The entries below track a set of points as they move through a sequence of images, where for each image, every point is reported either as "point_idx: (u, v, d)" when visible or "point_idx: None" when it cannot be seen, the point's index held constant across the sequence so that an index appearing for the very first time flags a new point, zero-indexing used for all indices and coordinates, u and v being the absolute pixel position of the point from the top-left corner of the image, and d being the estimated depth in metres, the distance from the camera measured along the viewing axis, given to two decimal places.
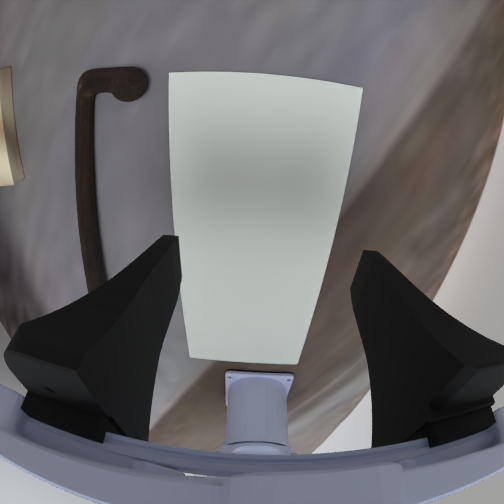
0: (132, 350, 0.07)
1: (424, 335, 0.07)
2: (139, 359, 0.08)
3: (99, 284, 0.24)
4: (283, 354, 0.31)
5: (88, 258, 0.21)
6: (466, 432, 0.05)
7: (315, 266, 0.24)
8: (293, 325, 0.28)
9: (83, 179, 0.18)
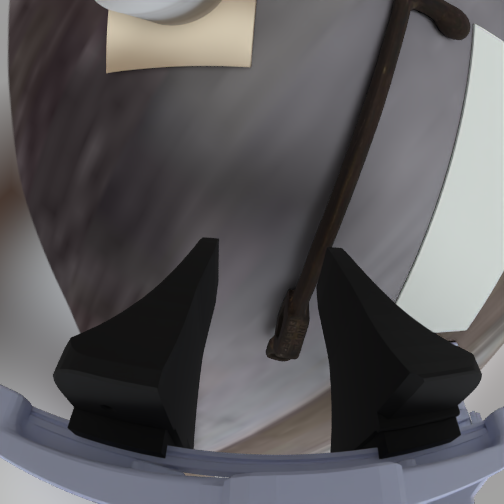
0: (188, 358, 0.07)
1: (374, 336, 0.07)
2: (192, 366, 0.08)
3: None
4: (463, 319, 0.26)
5: (351, 194, 0.16)
6: (422, 444, 0.05)
7: None
8: (486, 285, 0.23)
9: None
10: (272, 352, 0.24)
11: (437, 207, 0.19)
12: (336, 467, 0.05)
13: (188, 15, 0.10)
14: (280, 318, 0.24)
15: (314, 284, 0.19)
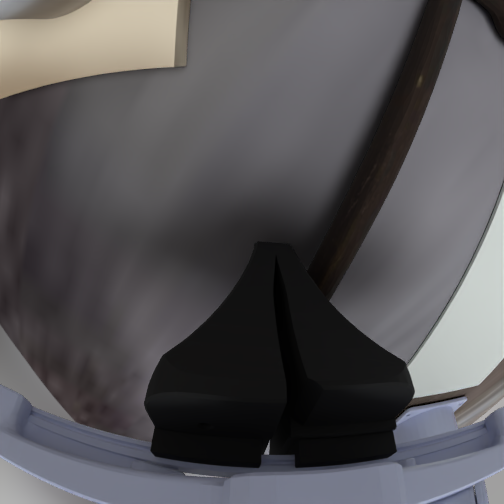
0: None
1: (292, 335, 0.07)
2: None
3: None
4: (477, 377, 0.20)
5: None
6: (344, 458, 0.05)
7: None
8: None
9: None
10: None
11: (469, 269, 0.13)
12: (336, 467, 0.05)
13: None
14: None
15: None
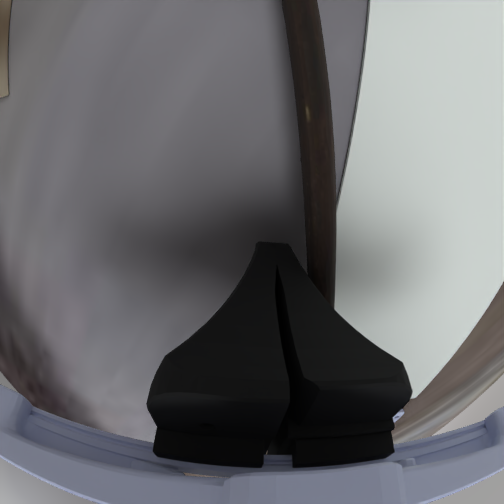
0: None
1: (290, 335, 0.07)
2: None
3: None
4: None
5: None
6: (341, 458, 0.05)
7: (501, 270, 0.13)
8: (440, 352, 0.17)
9: (329, 145, 0.08)
10: None
11: None
12: (336, 467, 0.05)
13: None
14: None
15: None
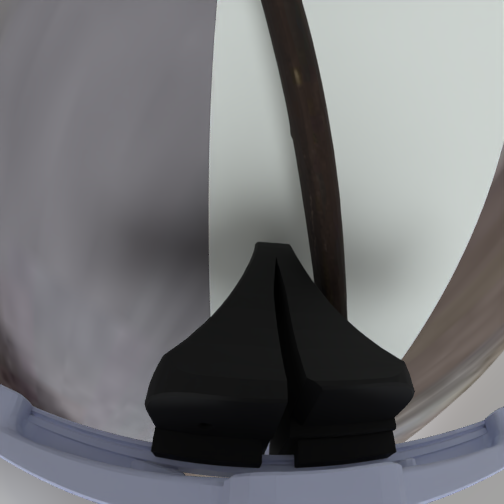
0: None
1: (292, 335, 0.07)
2: None
3: None
4: None
5: (345, 313, 0.10)
6: (344, 458, 0.05)
7: (444, 265, 0.12)
8: None
9: None
10: None
11: (210, 250, 0.12)
12: (336, 467, 0.05)
13: None
14: None
15: None
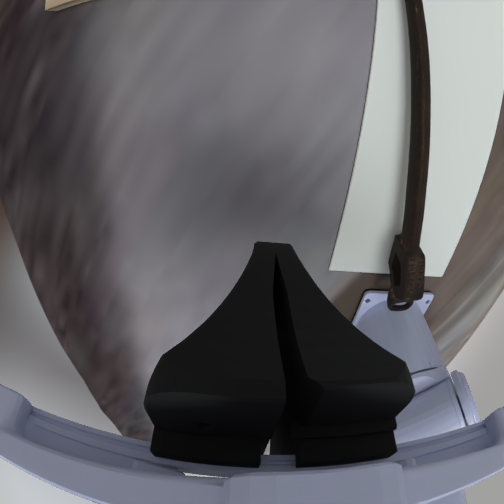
0: None
1: (292, 336, 0.07)
2: None
3: None
4: (435, 260, 0.24)
5: (430, 123, 0.15)
6: (345, 457, 0.05)
7: (486, 137, 0.17)
8: (456, 214, 0.21)
9: None
10: (394, 302, 0.22)
11: (367, 101, 0.17)
12: (336, 467, 0.05)
13: None
14: (393, 267, 0.23)
15: (422, 217, 0.18)
